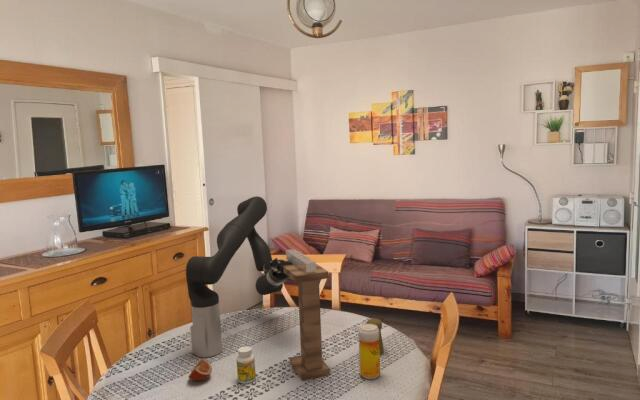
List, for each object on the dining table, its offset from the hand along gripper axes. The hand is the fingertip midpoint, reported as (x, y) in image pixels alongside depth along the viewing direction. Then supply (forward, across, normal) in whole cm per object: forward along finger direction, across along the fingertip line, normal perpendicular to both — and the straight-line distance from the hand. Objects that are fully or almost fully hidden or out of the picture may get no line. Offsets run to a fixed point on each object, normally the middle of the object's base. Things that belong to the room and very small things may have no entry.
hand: (289, 259), depth 158 cm
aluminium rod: (+11, 0, +5) cm, 12 cm away
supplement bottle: (-3, -19, +35) cm, 40 cm away
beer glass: (+8, +15, +41) cm, 45 cm away
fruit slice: (-9, -32, +31) cm, 46 cm away
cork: (-3, +24, +34) cm, 42 cm away
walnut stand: (-2, 0, +35) cm, 35 cm away
